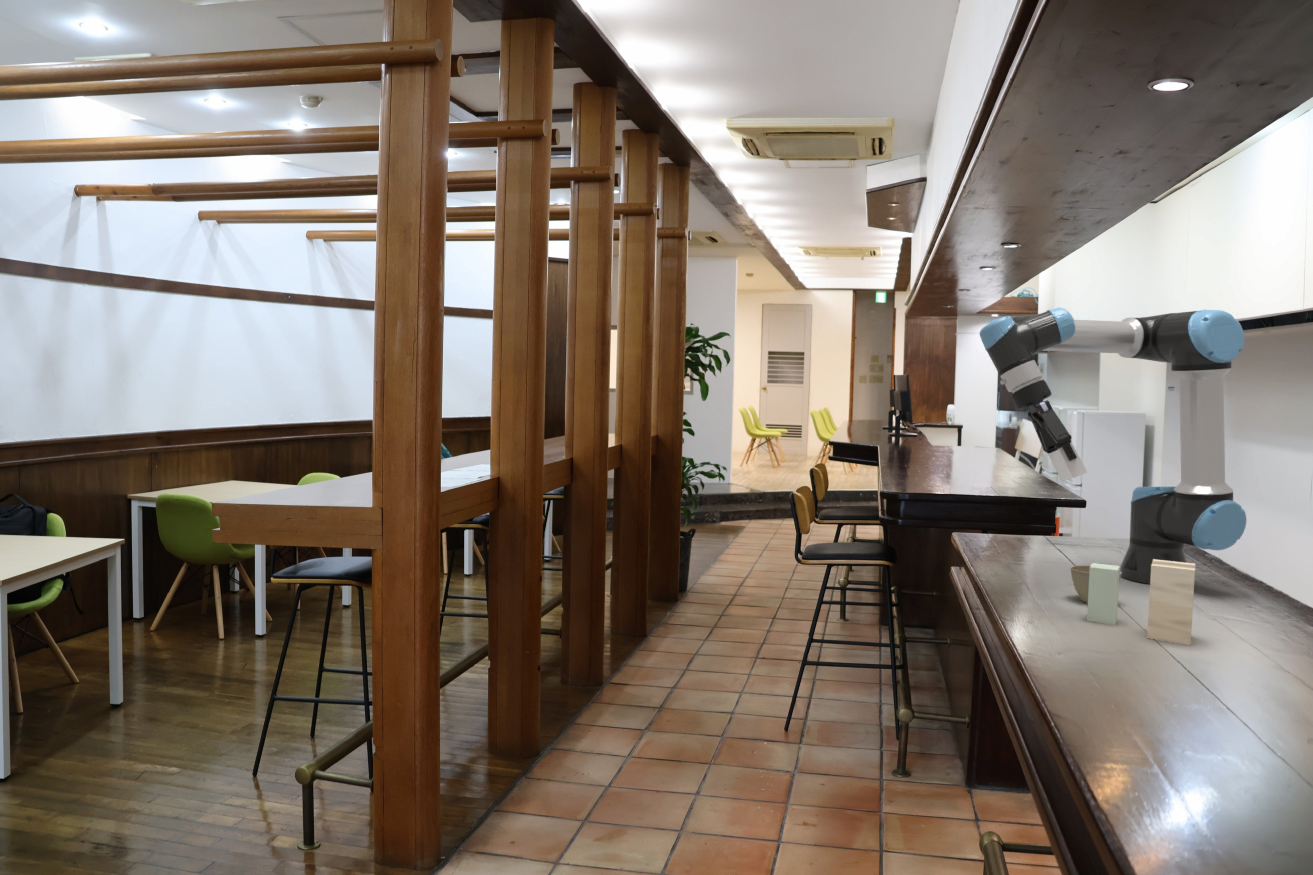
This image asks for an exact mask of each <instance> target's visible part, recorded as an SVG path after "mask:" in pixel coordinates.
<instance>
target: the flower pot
mask: <svg viewBox="0 0 1313 875" xmlns="http://www.w3.org/2000/svg"><path fill="white" fill-rule="evenodd" d="M1090 566H1091V564H1090V565H1087V564H1086V565H1085V564H1084V565H1082V564H1080V565H1078V564H1077V565H1072V566H1071V567H1070V572H1071V573H1070V575H1071V579H1072V583H1073V586H1074V589H1075V590H1076V593H1077V596H1078V597H1079V598H1080V600H1081V601H1082V602H1084V603H1086V604H1088V591H1089V571H1090ZM1121 574H1122V573H1121V572H1119V583H1120V582H1121Z"/></svg>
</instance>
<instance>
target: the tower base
mask: <svg viewBox="0 0 1313 875" xmlns="http://www.w3.org/2000/svg"><path fill="white" fill-rule="evenodd" d="M1193 609H1194V607H1193V608H1190V607H1182V606H1174V605H1167V604H1159V603H1151V602H1149V601H1148V616H1147V635H1146V639H1147V638H1150V639H1149V640H1152V639H1157V640H1156V641H1159V640H1161V642H1165V641H1168V642H1167V643H1172V642H1174V643H1173V644H1179V643H1180V644H1181V645H1185V644H1187V645H1188V646H1191V645H1192V644H1191V643H1192V629H1193V628H1192V627H1193V626H1192V625H1193V612H1194V610H1193ZM1187 645H1186V646H1187Z"/></svg>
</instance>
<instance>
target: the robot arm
mask: <svg viewBox="0 0 1313 875" xmlns="http://www.w3.org/2000/svg"><path fill="white" fill-rule="evenodd" d="M1242 327H1243V326H1242V325H1241V323H1240V322H1239V321H1238V319H1237V318H1235V317H1234V315H1232V314H1231V313H1229V312H1227V311H1224V310H1220V309H1200V310H1193V311H1183V312H1181V311H1180V312H1170V313H1164V314H1158V315H1151V316H1143V317H1142V316H1141V317H1125V318H1124V319H1122V320H1121V321H1120V320H1119V321H1117V320H1114V321H1113V320H1091V319H1074V316H1073V315H1072V314H1071V312H1070V311H1069V310H1067V309H1065V308H1063V307H1056V308H1052V309H1047V310H1046V311H1045V312H1041V313H1035V314H1027V315H1026V314H1025V315H1018V316H1009V315H1007V316H1003V317H999V318H995V319H993V320H991V321H989V323H988V324H986V325H985V326H983V327H982V328H981V329H980V331H979V337H980V340H981V342H982V344H983V347H984V349H985V351H986V352H987V354H988V356H989V358H990V360H991V361H992V363H993V365H994V367H995V369H996V371H997V373H998V375H999V377H1000V378H1001V380H1000V381H999V382H1000V385H1002V386H1003V385H1004V386H1005V388H1006V390H1007V392H1009V393H1011V394H1010V398H1011V400H1012V402H1013V404H1014V406H1015V409H1016V410H1020V411H1021V410H1023V409H1025V408H1028V409H1029V411H1028V412H1027V415H1028V416H1027V417H1029V419H1030V420H1031V423H1032V425H1033V428H1034V430H1035V432H1036V435H1037V438H1038V440H1039V442H1040V446H1041V448H1042V451H1044V452H1045V453H1046V454H1047V456H1048V457H1049V459H1050V461H1051V463H1052V465H1053V466H1054V469H1055V470H1056V472H1057V474H1058V476H1059V478H1060V480H1061V482H1064V481H1067V480H1069V479H1072V478H1073V479H1074V478H1078V477H1080V476H1081V475H1084V474H1086V473H1088V471H1087V469H1086V467H1085V466H1084V463H1083V461H1082V459H1081V458H1080V456H1079V454H1078V452H1077V450H1076V449H1075V446H1074V445H1073V443H1072V434H1070V432H1069V431H1068V430H1067V428H1066V427H1065V425H1064V424H1063V422H1062V420H1061V419H1060V418H1059V416H1058V415H1057V413H1056V412H1055V410H1054V408H1053V406H1052V405H1051V402H1050V401H1049V400H1048V398H1049V397H1051V396H1052V391H1051V389H1050V387H1049V385H1048V383H1047V382H1046V380H1044V379H1042V378H1043V376H1044V375H1043V373H1042V371H1041V370H1040V367H1039V366H1038V364H1037V363H1036V360H1035V359H1034V357H1033V355H1034V354H1036V353H1039V352H1042V351H1043V352H1067V353H1068V352H1070V353H1071V352H1072V353H1073V352H1074V353H1098V354H1099V353H1102V354H1117V355H1119V356H1120V357H1121V358H1125V359H1126V358H1127V359H1140V360H1146V361H1151V362H1152V361H1153V362H1160V363H1166V364H1167V363H1168V364H1171V365H1170V367H1171V369H1170V370H1171V373H1172V374H1173V375H1174V376H1175V377H1177V379H1178V381H1179V382H1178V383H1179V388H1178V389H1179V428H1180V430H1179V433H1180V434H1179V436H1180V437H1179V440H1180V441H1179V442H1180V444H1179V445H1180V482H1179V483H1178V485H1176V486H1137V487H1136V488H1134V489H1133V491H1132V495H1131V496H1132V497H1131V501H1130V522H1129V523H1130V525H1129V526H1130V527H1129V544H1128V548H1127V551H1126V552H1125V555H1124V557H1123V559H1122V562H1121V563H1120V565H1119V566H1120V572H1121V573H1122V574H1121V577H1122V579H1126V580H1128V581H1129V580H1130V581H1133V582H1138V583H1143V584H1148V585H1150V579H1151V565H1152V561H1153V559H1156V560H1165V561H1175V562H1184V563H1188V562H1187V557H1186V554H1185V551H1184V549H1185V546H1184V545H1187V546H1192V547H1193V546H1194V547H1196V548H1198V549H1202V550H1212V551H1224V550H1226V549H1229V548H1231V547H1232V546H1234V545H1235V544H1236V543H1237V542H1238V540H1240V539H1241V537H1242V536H1243V535H1244V532H1245V529H1246V525H1247V514H1246V512H1245V509H1243V508H1242V505H1240V503H1237V502H1236V501H1234V489H1233V488H1232V487H1231V486H1229V484H1227V482H1226V458H1225V457H1226V454H1225V453H1226V452H1225V449H1226V447H1225V446H1226V445H1225V391H1224V390H1225V388H1224V387H1225V386H1224V385H1225V384H1224V380H1225V379H1224V378H1225V376H1226V375H1227V374H1228V373H1229V372H1230V371H1231V370H1232V369H1233V368H1232V361H1233V360H1235V359H1236V358H1238V357H1239V356H1240V352H1242V351H1243V349H1244V346H1245V334H1244V330H1243V328H1242Z"/></svg>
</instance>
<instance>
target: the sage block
mask: <svg viewBox="0 0 1313 875" xmlns="http://www.w3.org/2000/svg"><path fill="white" fill-rule="evenodd" d="M1120 566H1121V565H1115V564H1114V565H1113V564H1106V563H1105V564H1104V563H1096V562H1092V563H1091V564H1090V571H1089V591H1088V603H1087V610H1086V611H1087V614H1086V621H1087V622H1090V623H1096V624H1097V623H1098V624H1105V625H1110V626H1112V625H1113V626H1115V625H1116V623H1117V620H1118V608H1119V606H1118V604H1119V591H1120V588H1119V587H1120V586H1119V585H1120V582H1119V572H1120Z"/></svg>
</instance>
